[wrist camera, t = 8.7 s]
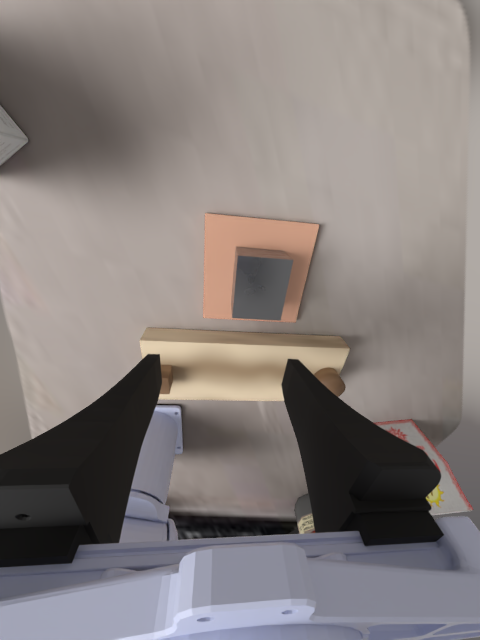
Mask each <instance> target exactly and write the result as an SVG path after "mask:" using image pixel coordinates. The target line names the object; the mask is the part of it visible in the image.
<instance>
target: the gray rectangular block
mask: <svg viewBox="0 0 480 640" xmlns="http://www.w3.org/2000/svg"><path fill="white" fill-rule="evenodd" d="M292 264H293V259H292V258H291V257H290V256H289V255H288V254H287V253H286V252H285V251H283V250H271V249H260V248H248V247H237V246H236V250H235V261H234V273H233V285H232V296H231V310H232V318H241V319H259V320H278V321H281V316H282V312H283V307H284V302H285V297H286V293H287V288H288V283H289V279H290V274H291V269H292Z"/></svg>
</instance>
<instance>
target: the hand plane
mask: <svg viewBox="0 0 480 640" xmlns="http://www.w3.org/2000/svg"><path fill="white" fill-rule="evenodd" d="M140 346H141V353H142V359H143V358H144V357H145V356H146V355H147V354H160V363H161V374H162V385H161V390H160V394H159V398H158V399H170V400H242V401H284V397H283V392H282V386H281V384H282V380H283V376H284V372H285V368H286V364H287V360H288V359H298V360H299V361H300V362H302V363H303V365H304V366H305V367H306V368H307V369H308V370H309V371H310V372H311V373H312V374H313V375H314V376H315V377H316V378H317V379H318V380H319V381H320V382H321V383H323V384H324V385H325V386H326V387H327V388H328V389H329V390H330V391H331V392H332V393H334V394H335V395H336V396H337V397H338V396H340V395H341V394H342V393H343V392H344V390H345V384H344V382H343V381H342V379H341V377H340V376H339V375H340V373H341V370H342V368H343V365H344V363H345V360H346V358H347V355H348V353H349V351H350V348H349V347H348V345H347V344H346V343H345V342H344V340H343V339H342V338H341V337H340V336H320V335H298V334H275V333H253V332H231V331H209V330H187V329H164V328H146V330H145V332H144V334H143V335H142V337H141V339H140Z"/></svg>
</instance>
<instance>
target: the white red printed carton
mask: <svg viewBox="0 0 480 640" xmlns="http://www.w3.org/2000/svg"><path fill="white" fill-rule="evenodd" d="M374 424H376V425H378V426H379V427H381V428H382V429H384V430H386V431H388V432H389V433H391V434H393V435H395V436H396V437H398V438H400V439H402V440H404V441H406V442H408V443H410V444H412V445H414V446H416V447H418V448H420V449H422V450H424V452H425V453H426V454H427V455H428V457H429V458H430V459H431V460H432V462H433V463H434V464H435V466H436V467H437V468H438V469H439V471H440V473H441V480H440V482H439V484H438V485H437V486H436V487H435V488H434V490H433V491H432V492H431V493H430V494H429V495H428V496H427V497H426V499H427V501H428V502H429V504H430V505H431V508H432V509H431V510H430V511H429V512H430V514H431V515H439V514H447V513H457V512H466V511H471V510H473V508H472V507H471V505H470V504H469V502H468V501H467V499H466V497H465V495H464V494H463V492H462V490H461V488H460V487H459V485H458V483H457V481H456V479H455V477H454V475H453V473H452V471H451V469H450V467H449V466H448V464H447V462H446V461H445V459H444V458H443V457H442V456H441V454H440V453H439V452H438V451H437V450H436V448H435V447H434V446H433V445H432V444H431V442H430V441H429V440H428V439H427V437H426V436H425V435H424V434H423V433H422V431H421V430H420V429H419V428H418V427H417V425H416V424H415V423H414V422H413V421H412V419H409V420H399V421H389V422H378V423H374Z"/></svg>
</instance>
